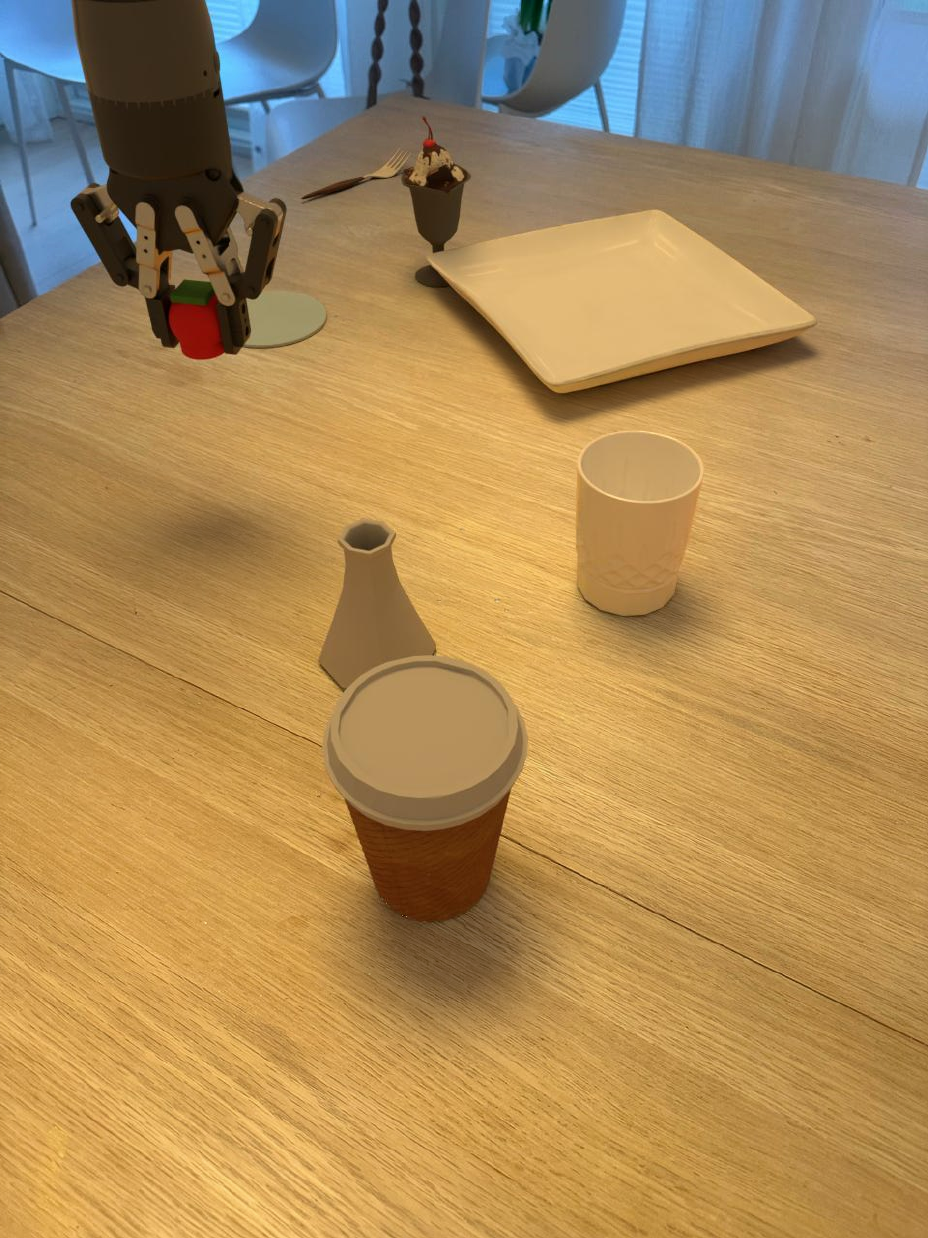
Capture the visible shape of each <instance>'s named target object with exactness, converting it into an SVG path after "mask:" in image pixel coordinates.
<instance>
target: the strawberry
mask: <svg viewBox="0 0 928 1238" xmlns="http://www.w3.org/2000/svg"><path fill="white" fill-rule="evenodd" d="M170 299H171V302H172V304H171V306H170V309H169V324H170V327H171V329H172V332H173V333H174V335H175V336H176V338H177V339H178V340H179V346H180V352H181V353H182V354H183V356H184V357H186V358H188V359H191V360H197V361H198V360H199V361H202V360H203V361H205V360H211V359H215V358H218V357H220V356H222V355H224V354H225V352H224V348H223V342H222V336H221V331H220V325H219V320H218V314H217V309H216V305H217V304H218V303H219V300H218V298H217V296H216V294H215V291H214V289H213V287H212V284H211V282H210V281H205V280H195V279H185V278H184V279H183V280H182V281H181V282H180V283H179V285H177V287H175V290H174V291H173V293H172V294H171V295H170Z"/></svg>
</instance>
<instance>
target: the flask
mask: <svg viewBox="0 0 928 1238" xmlns="http://www.w3.org/2000/svg"><path fill="white" fill-rule="evenodd" d="M340 532H341V533H340V534H339V536H338V537H337V544H338V546H339V547H340V548H341V549H343V552H344V563H345V566H344V575H343V584H342V589H341V592H340V595H339V598H338V602H337V605H336V608H335V612H334V614H333V618H332V620H331V623H330V626H329V629H328V631H327V634H326V637H325V639H324V642H323V645H322V648H321V651H320V653H319V657H318V659H317V662H318V663H319V664H320V666H321V667H323V668H324V669H325V671H326V672H327V673H328V674H329V675H330V676H331V678H333V679H334V681H335V682H336V683H337V684H338V685H339V686H340V687H341V688H344V689H347V688H348V687H349V686H350V685H351V684H352V683H353V682H354V681H355V680H356V679H357V678H358V677H360V676H361V675H363V674H364V673H366V672H368V671H369V670H371V669H373V668H375V667H377V666H379V665H381V664H384V663H386V662H390V661H394V660H398V659H403V658H407V657H412V656H427V655H434V652H435V650H436V648H437V643H436V641H435V640H434V638H433V636H432V635H431V633H430V631H429V630H428V628H427V626H426V625H425V623H424V621H423V620H422V619H421V617H420V615H419V614H418V612H417V610H416V609H415V607H414V604H413V603H412V601H411V600H410V597H409V595H408V594H407V592H406V591H405V588H404V586H403V584H402V583H401V581H400V578H399V575H398V571H397V569H396V565H395V561H394V558H393V547H392V545H393V544H394V542H395V540H396V537H397V532H396V531H395V530H394V528H391V526H389V524H388V523H386V522H385V521H384V520H378V519H372V518H366V517H362V518H360V519H358V520H355V521H353V522H351V523H349V524H346V525H345V526H344V527H343V529H342V531H340Z"/></svg>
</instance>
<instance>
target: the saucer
mask: <svg viewBox="0 0 928 1238" xmlns="http://www.w3.org/2000/svg"><path fill="white" fill-rule="evenodd" d="M246 300H247V306H248V313H249V319H250V325H251V334H250V337H249V339H248V340H247V342H246V343H245V345H244V346H243V347H242V348H251V349H268V348H269V349H270V348H278V347H285V346H289V345H292V344H296V343H298V342H302V341H305V340H306V339H308V338H310V337H312V336H314V335H315V334H317V333H318V332H319V331H320V330H321V329H322V328H323V327H324V326H325V324H326V321H327V318H328V316H327V315H328V314H327V310H326V309H327V308H326V307H325V306H324V304H323V302H321V301H320V300H319V299H317V298H315V297H313V296H311V295H309V294H305V293H302V292H297V291H292V290H264V291H263V290H262V292H261V294H260V296H259V297H258V298H257V299H254V300H251V299H248V298H246Z"/></svg>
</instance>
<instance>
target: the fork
mask: <svg viewBox="0 0 928 1238" xmlns="http://www.w3.org/2000/svg"><path fill="white" fill-rule="evenodd" d="M400 151H401V152H400ZM404 152H405V153H404ZM398 153H399V155H398ZM403 153H404V155H403ZM408 153H409V151H408V150H407V151H405V150H404V149H402V150H401V148H398V149H397V151H396V152H395V154H394V155H393V156H392V157H391V158H390V159H389V160H388V161H387V162H386V163H385V164H384V165H383V166H382V167H381V168H379V169H378V170H377V171H374V172H373V173H370V174H369V173H368V174H366V175H361V176H358V177H353V178H350V179H349V178H348V179H345V180H341V181H338V182H335V183H332V184H330V185H328V186H325V187H323V188H320V189H317V190H314V191H312V192H310V193H308V194H306V195H303V196H302V197H300V200H307V199H312V198H315V197H319V196H322V195H327V194H330V193H334V192H337V191H341V190H345V189H346V188H349V187H352V186H353V185H355V184H357V183H360V182H362V181H364V180H367V179H370V178H379V179H389V178H392V177H394V176H395V175H396V174H398V172H399V171H400V170H401V169H402V168H403V167H404V165H405V164H406V163H407V161H408V160H409V158H411V156H412V154H413V153H412V152H410V153H409V154H408ZM402 155H403V156H402ZM407 155H408V156H407ZM401 156H402V157H401ZM395 157H396V158H395ZM400 157H401V158H400ZM405 157H406V158H405ZM393 160H394V161H393ZM398 160H399V161H398ZM403 160H404V161H403Z"/></svg>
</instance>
